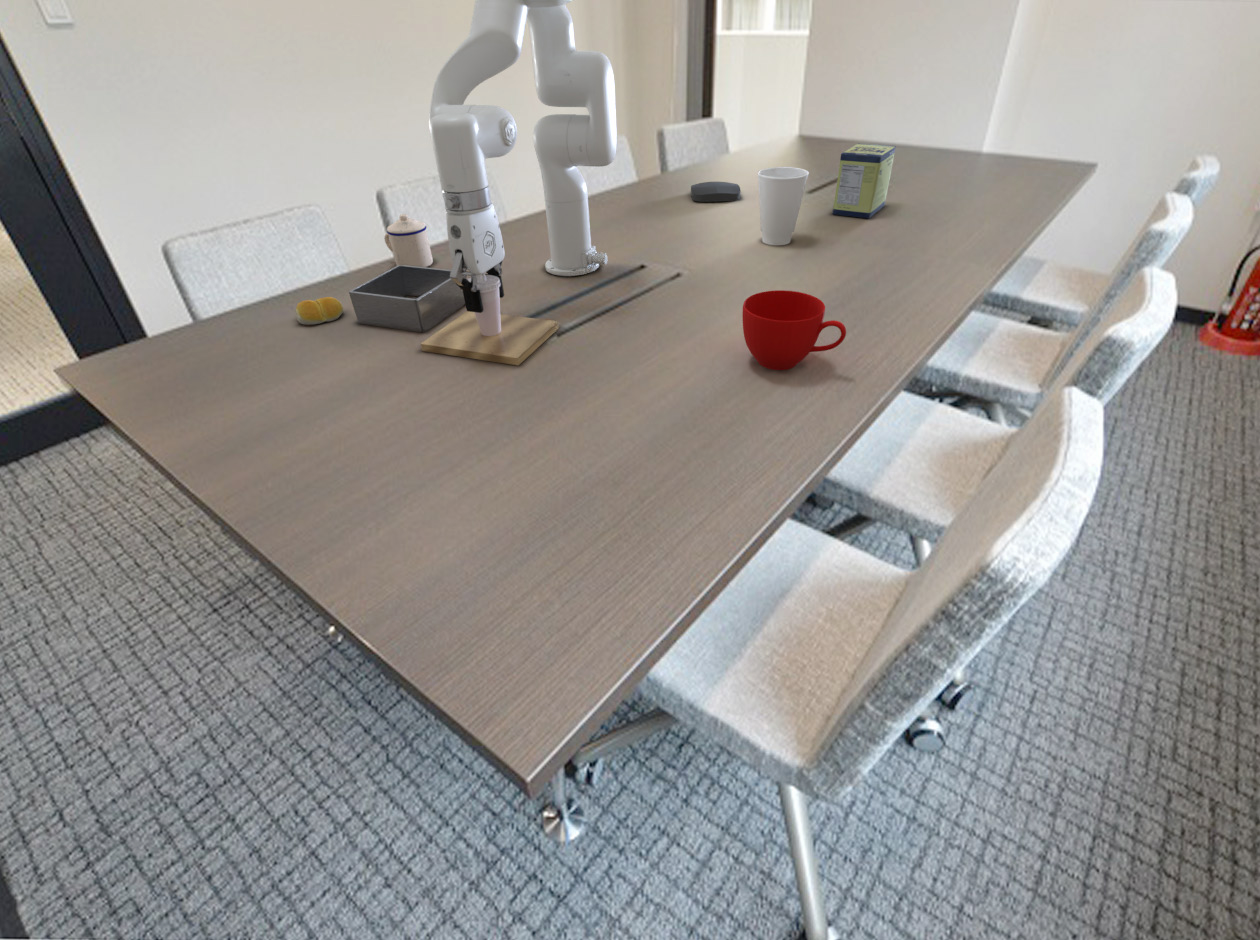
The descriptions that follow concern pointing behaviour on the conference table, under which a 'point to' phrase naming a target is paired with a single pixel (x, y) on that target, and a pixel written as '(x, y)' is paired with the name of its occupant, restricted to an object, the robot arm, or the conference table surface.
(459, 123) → the robot arm
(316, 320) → the bread roll
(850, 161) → the protein box
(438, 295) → the box
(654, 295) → the conference table surface
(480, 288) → the smoothie
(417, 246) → the teacup with lid
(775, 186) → the cup
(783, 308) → the ceramic cup
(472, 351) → the maple board
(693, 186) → the media streaming box
